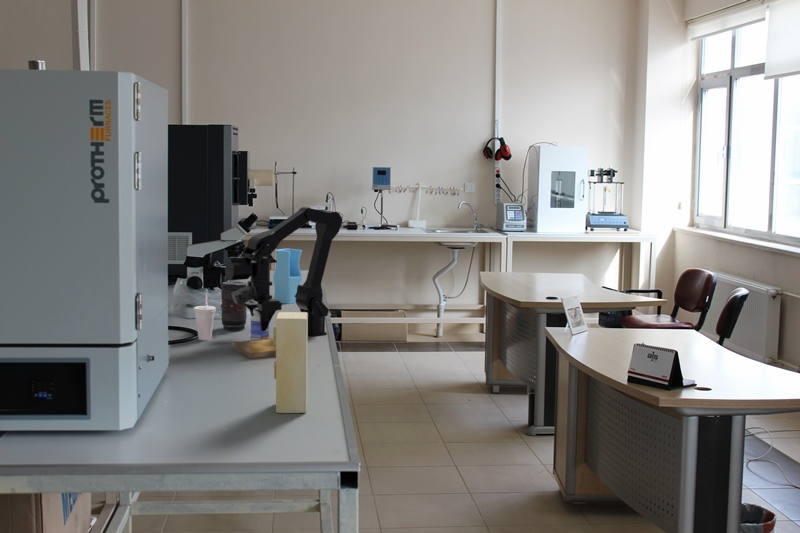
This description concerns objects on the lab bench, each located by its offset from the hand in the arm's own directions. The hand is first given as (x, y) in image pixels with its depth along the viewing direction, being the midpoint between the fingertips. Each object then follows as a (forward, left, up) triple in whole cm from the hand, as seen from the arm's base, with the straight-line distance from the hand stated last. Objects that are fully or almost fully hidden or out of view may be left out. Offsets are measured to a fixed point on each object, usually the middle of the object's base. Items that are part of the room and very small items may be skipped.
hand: (259, 329), depth 240 cm
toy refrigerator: (+19, +64, -4) cm, 67 cm away
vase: (-35, -58, -4) cm, 68 cm away
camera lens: (+1, -19, -4) cm, 19 cm away
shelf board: (+3, +12, -4) cm, 13 cm away
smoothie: (+14, -9, -4) cm, 17 cm away
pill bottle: (0, 0, -4) cm, 4 cm away
